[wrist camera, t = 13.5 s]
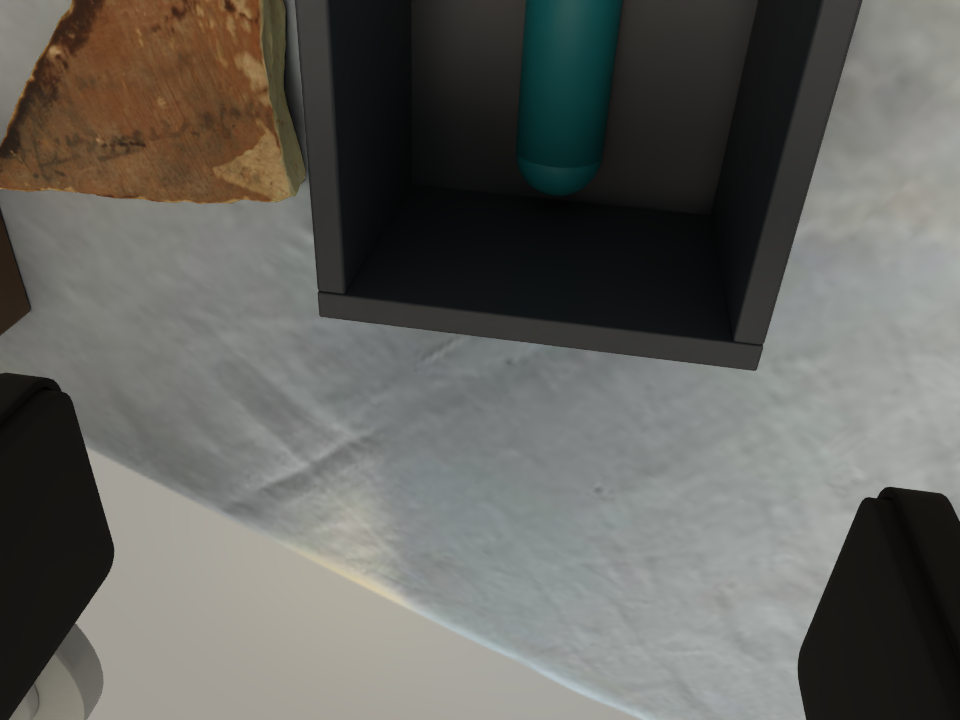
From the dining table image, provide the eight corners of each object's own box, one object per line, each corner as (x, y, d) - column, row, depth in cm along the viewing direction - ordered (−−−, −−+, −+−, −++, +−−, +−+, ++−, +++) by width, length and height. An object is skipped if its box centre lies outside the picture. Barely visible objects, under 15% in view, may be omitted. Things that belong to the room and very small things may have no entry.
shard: (4, 172, 28) (-31, 193, 26) (-81, -81, 24) (-129, -73, 22) (310, 193, 27) (290, 215, 25) (277, -73, 22) (251, -64, 21)
